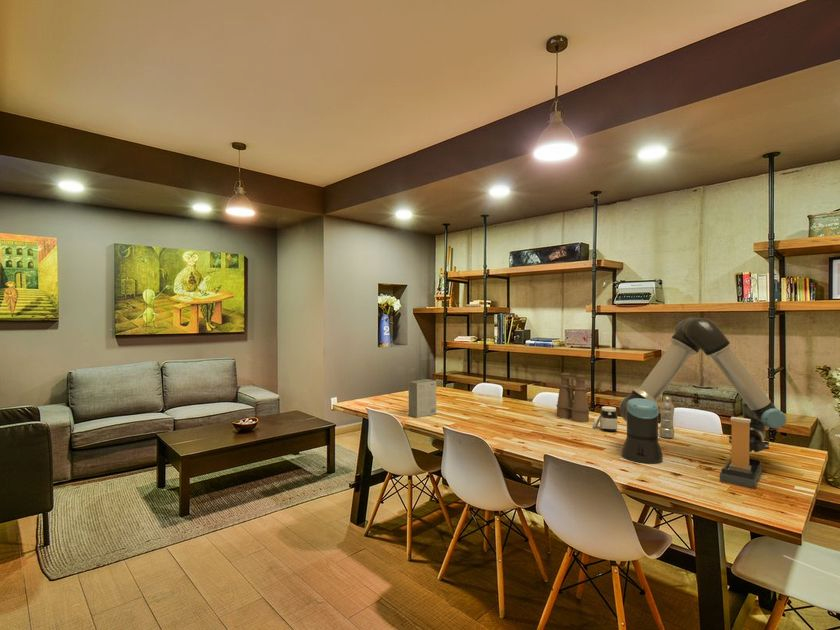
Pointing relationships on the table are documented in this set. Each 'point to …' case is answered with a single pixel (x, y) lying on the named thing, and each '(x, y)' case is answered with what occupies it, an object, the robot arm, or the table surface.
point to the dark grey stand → (742, 474)
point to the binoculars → (573, 399)
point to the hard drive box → (422, 398)
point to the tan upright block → (740, 445)
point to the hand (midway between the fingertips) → (742, 451)
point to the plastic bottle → (666, 418)
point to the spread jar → (607, 419)
